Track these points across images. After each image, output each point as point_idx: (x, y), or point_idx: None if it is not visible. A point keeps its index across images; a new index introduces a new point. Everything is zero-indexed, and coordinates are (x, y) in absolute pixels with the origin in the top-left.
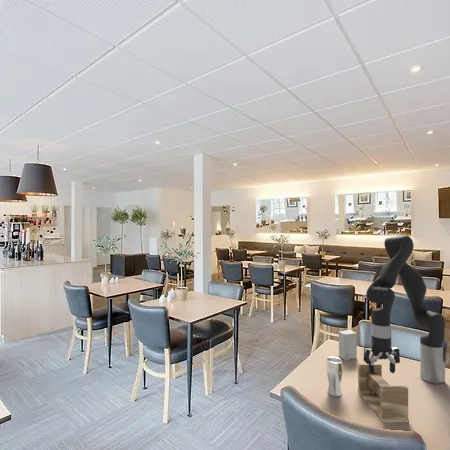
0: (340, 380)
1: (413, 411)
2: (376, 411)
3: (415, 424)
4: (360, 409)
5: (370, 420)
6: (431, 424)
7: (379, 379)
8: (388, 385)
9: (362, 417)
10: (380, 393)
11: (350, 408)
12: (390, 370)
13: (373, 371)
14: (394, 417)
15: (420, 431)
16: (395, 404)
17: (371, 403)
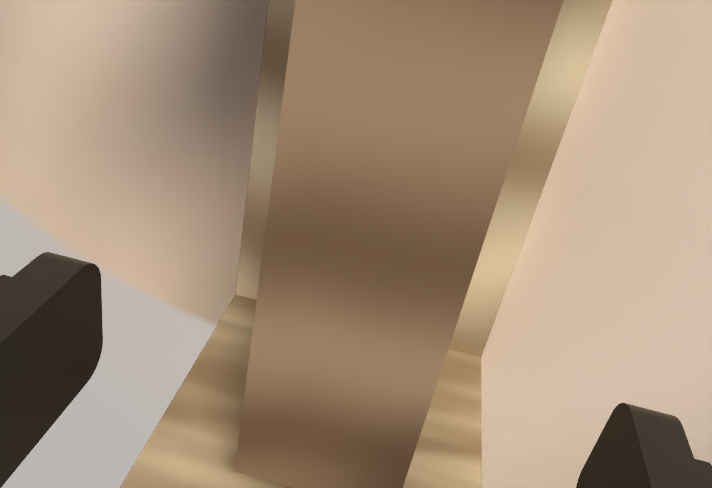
0: None
1: (680, 279)
2: (246, 222)
3: (499, 407)
4: (131, 102)
5: (145, 265)
6: None
7: (402, 154)
8: (408, 361)
9: (94, 214)
10: (127, 475)
11: (31, 58)
12: (615, 448)
13: (48, 408)
14: None
15: None
16: None
17: (283, 83)
